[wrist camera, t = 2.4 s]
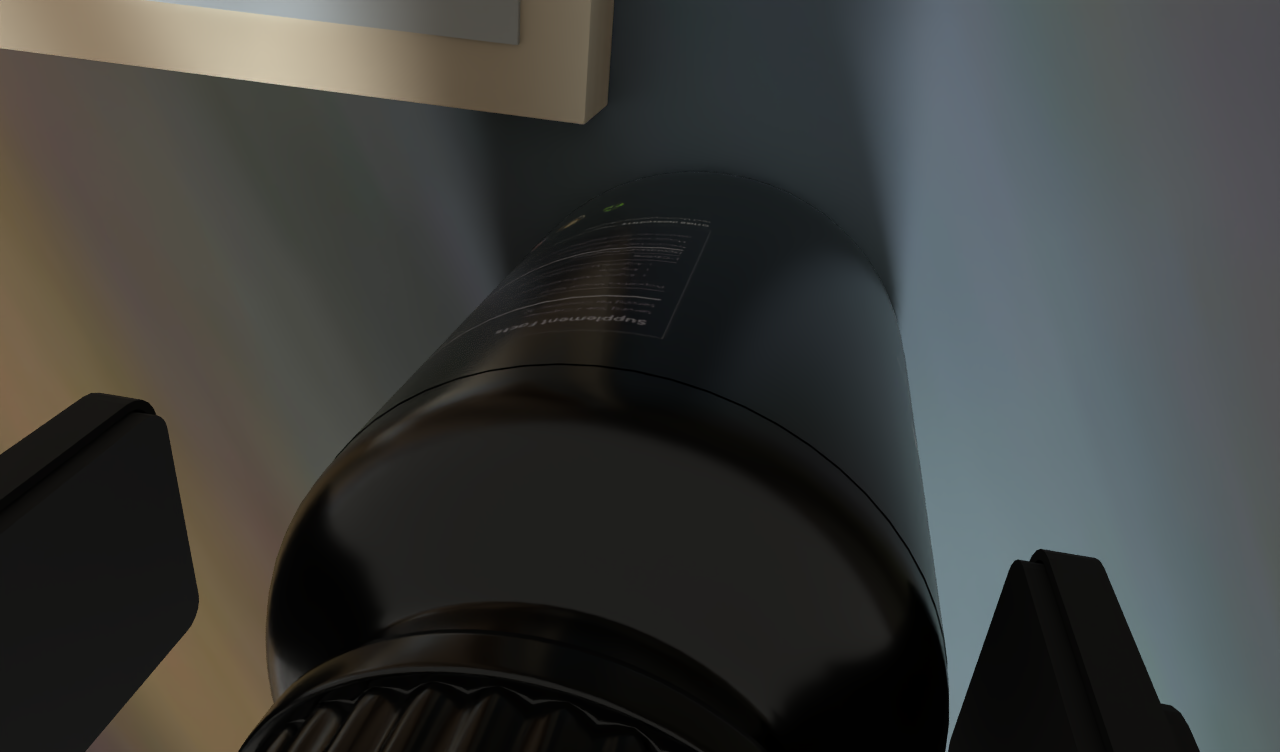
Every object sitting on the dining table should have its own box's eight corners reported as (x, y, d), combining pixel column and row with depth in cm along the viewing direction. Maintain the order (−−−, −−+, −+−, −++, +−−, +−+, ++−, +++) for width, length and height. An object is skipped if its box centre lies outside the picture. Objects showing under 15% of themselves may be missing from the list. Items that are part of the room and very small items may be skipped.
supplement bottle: (969, 434, 16) (1195, 1412, 6) (637, 556, 19) (373, 1384, 8) (790, 74, 14) (629, 573, 4) (444, 266, 17) (-231, 882, 6)
